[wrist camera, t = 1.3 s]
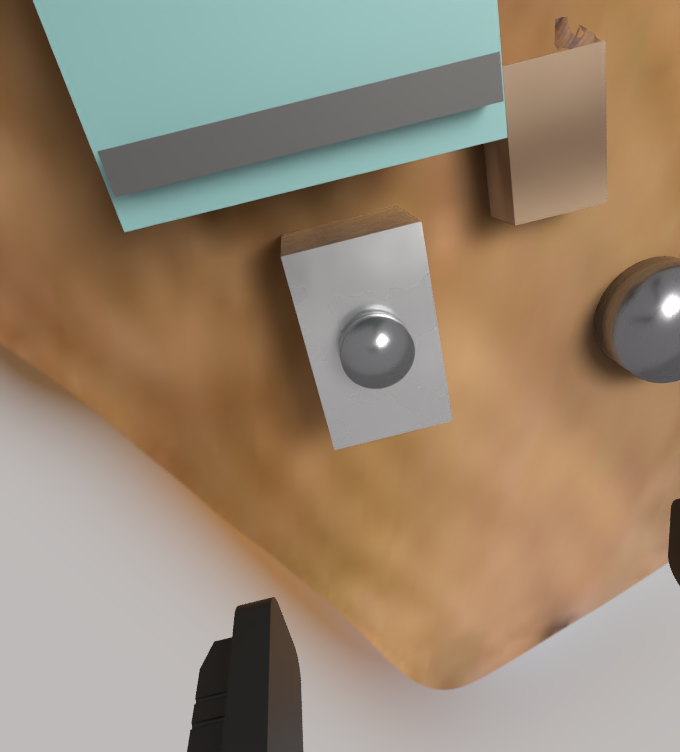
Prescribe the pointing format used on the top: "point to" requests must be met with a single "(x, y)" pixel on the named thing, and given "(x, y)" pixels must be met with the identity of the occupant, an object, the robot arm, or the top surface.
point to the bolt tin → (643, 320)
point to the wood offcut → (551, 137)
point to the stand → (270, 92)
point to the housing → (369, 324)
